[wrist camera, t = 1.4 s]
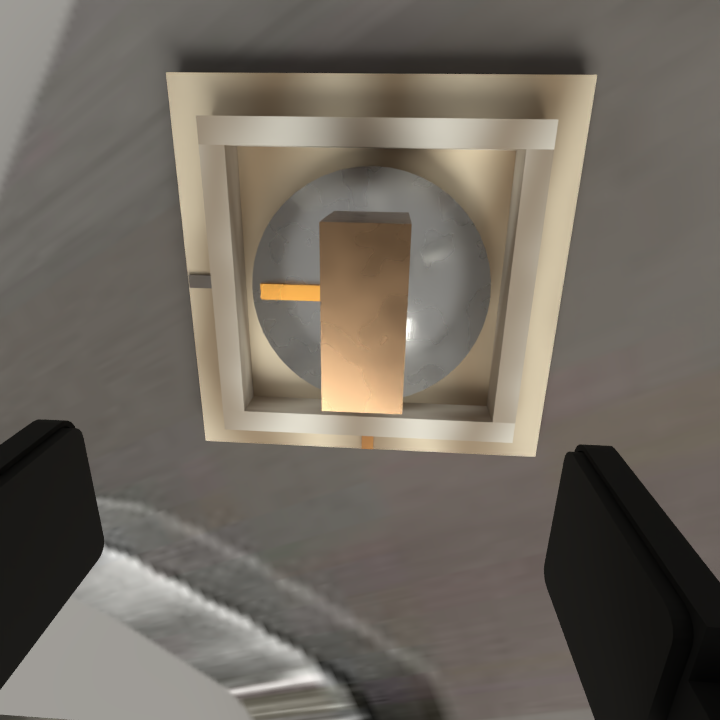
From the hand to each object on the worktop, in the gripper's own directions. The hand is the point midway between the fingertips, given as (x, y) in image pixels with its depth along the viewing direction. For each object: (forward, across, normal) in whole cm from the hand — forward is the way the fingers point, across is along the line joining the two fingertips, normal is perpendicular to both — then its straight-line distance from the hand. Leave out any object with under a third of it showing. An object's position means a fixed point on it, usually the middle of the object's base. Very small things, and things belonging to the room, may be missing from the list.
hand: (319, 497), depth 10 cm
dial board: (+20, 0, 0) cm, 20 cm away
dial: (+18, 0, 0) cm, 18 cm away
